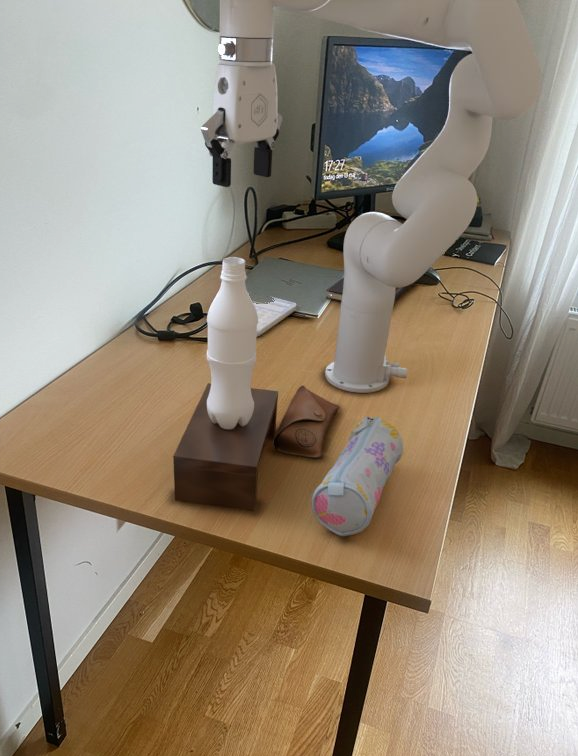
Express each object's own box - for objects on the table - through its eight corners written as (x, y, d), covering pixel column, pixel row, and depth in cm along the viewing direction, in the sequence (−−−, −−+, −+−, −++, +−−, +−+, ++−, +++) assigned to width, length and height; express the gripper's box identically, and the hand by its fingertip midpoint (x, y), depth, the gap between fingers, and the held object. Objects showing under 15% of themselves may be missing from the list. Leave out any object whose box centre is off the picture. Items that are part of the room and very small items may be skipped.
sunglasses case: (323, 458, 107) (305, 424, 105) (285, 469, 111) (267, 436, 108) (340, 404, 122) (325, 374, 119) (306, 416, 125) (291, 386, 122)
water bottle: (219, 437, 98) (221, 272, 84) (199, 414, 103) (197, 255, 89) (261, 426, 101) (270, 265, 86) (240, 405, 106) (245, 249, 92)
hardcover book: (325, 298, 166) (326, 289, 164) (359, 272, 182) (360, 264, 181) (386, 312, 159) (388, 303, 158) (415, 284, 176) (417, 275, 175)
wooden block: (275, 431, 114) (278, 391, 110) (254, 511, 96) (256, 466, 92) (207, 423, 116) (207, 383, 111) (174, 500, 98) (173, 456, 94)
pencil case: (348, 455, 109) (355, 405, 104) (400, 469, 106) (410, 419, 101) (305, 531, 93) (311, 477, 88) (365, 550, 90) (374, 495, 85)
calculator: (206, 324, 151) (206, 316, 150) (250, 297, 165) (250, 290, 164) (257, 338, 145) (257, 330, 144) (298, 309, 159) (298, 302, 158)
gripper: (225, 56, 86) (223, 194, 95) (303, 52, 97) (294, 176, 106) (183, 52, 90) (186, 185, 99) (263, 48, 101) (258, 168, 110)
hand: (242, 180), depth 103 cm, fingers open, 9 cm apart
